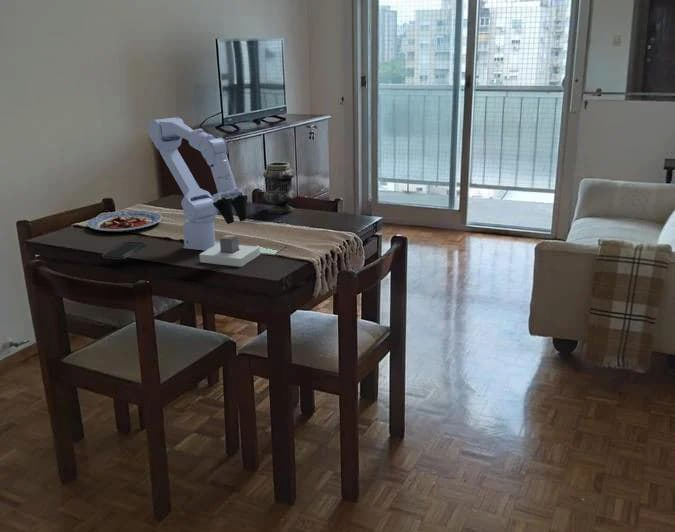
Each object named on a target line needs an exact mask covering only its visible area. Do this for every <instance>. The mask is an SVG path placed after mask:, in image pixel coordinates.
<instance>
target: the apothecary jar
mask: <svg viewBox="0 0 675 532" xmlns="http://www.w3.org/2000/svg"><path fill="white" fill-rule="evenodd" d="M262 176H263V178H264V179H265V180H266V191H265V192H264V193H263V198H264V200H265V201H266V202H267V203H270V204H273V205H272V206H271V207H269V208H268V209H267V212H268V213H273V214H285V213H290V212H291V211H294V207H292V206H290V205H288V203H290V202H293V201H294V200H295V198H296V192H295V191H294V190H293V185H292V179H293V178H294V177H295V171H294V169H292V167H291V164H290V163H289V162H287V161H286V162H285V161H273V162H268V163H267V165H266V169H265V170H264V171H263V173H262Z"/></svg>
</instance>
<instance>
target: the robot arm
mask: <svg viewBox="0 0 675 532" xmlns="http://www.w3.org/2000/svg"><path fill="white" fill-rule="evenodd" d="M148 136H149V138H150V139H151V141H152V142H153V144H154V146H155V148H156V149H157V150H158V151H159V153H160V155H161V157H162V159H163V160H164V162H165V164H166V166H167V167H168V169H169V171H170V173H171V174H172V176H173V178H174V180H175V181H176V183H177V185H178V187H179V189H180V190H181V192H182V194H183V195H184V196H183V198H182V200H181V202H180V203H181V204H180V205H181V207H182V209H183V214H184V216H185V218H186V220H185V221H184V223H183V225H182V232H183V243H184V246H182V247H183V249H187V250H199V251H206V250H208V249H210V248H212V247H213V246H215V245H217V244H219V243H220V241H216V233H215V221H214V220H215V219H216V216H217V214H218V213H220V214H221V216H222V218H223V219H224V221H225V223H226V224H227V225H229V224H232V223H234V222H235V219H234V214H233V209H234V211H235V213H236V215H237V218H238V219H239V221H240V222H242V221H246V220H248V215H247V203H248V194H245V193H244V189H241V188H238V187H237V183H236V181H235V178H234V174H233V171H232V167H231V164H230V161H229V158H228V154H229V144H228V141H227V140H226V139H225V138H224V137H222V136H221V137H220V136H219V137H217V138H216V137H214V136H213V134H209V133H207V132H205V131H204V129H203V128H197V129H192V128H191V127H189V126H188V125H187V124H185V123H184V120H183V119H182V118H180V117H178V116H173V117H168V118H159V119H151V120H150V121H149V123H148ZM183 139H184V140H186V141H188V144H189V145H190V147H192V148H194V149H195V150H198V151H199V152H200V153H201V155H202V158H203V159H204V160H205V162H206V163H207V165H208V166H209V168H210V169H211V170H210V171H211V174H212V177H213V181H214V183H215V187H216V190H217V192H216V193H214V194H212V195H211V193H210V192H209V191H207V190H205V189H203V188H200V186H199V184H198V182H197V181H196V180H195V178H194V176H193V174H192V172H191V171H190V168H189V167H188V165H187V164H186V162H185V160H184V159H183V157H182V155H181V153H180V152H179V149H178V148H179V147H180V146H181V145H182V140H183ZM232 207H233V208H232Z"/></svg>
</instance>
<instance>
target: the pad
mask: <svg viewBox="0 0 675 532" xmlns="http://www.w3.org/2000/svg"><path fill="white" fill-rule="evenodd" d="M255 247H260V246H258V245H256V246H255ZM279 251H280V250H279ZM277 252H278V251H277V250H272V249H269V248H268V249H266V248H263V247H260V255H269V256H275V255H277V254H278V253H279V252H278V253H277ZM280 252H281V251H280ZM276 253H277V254H276Z"/></svg>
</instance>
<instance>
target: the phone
mask: <svg viewBox="0 0 675 532" xmlns="http://www.w3.org/2000/svg"><path fill="white" fill-rule="evenodd" d="M146 246H147V244H146V242H137V241H135V242H134V241H125V242H122V243H121V244H118V245H117V246H115V247H114V248H111V249H109V250H108V251H106V252H105V253H102V254H101V258H102V259H111V260H112V259H113V260H125V259H126V258H128V257H129V256H131V255H133V254H134V253H135V254H136V252H138V251H140V250H141V249H143V248H145V247H146Z"/></svg>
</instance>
